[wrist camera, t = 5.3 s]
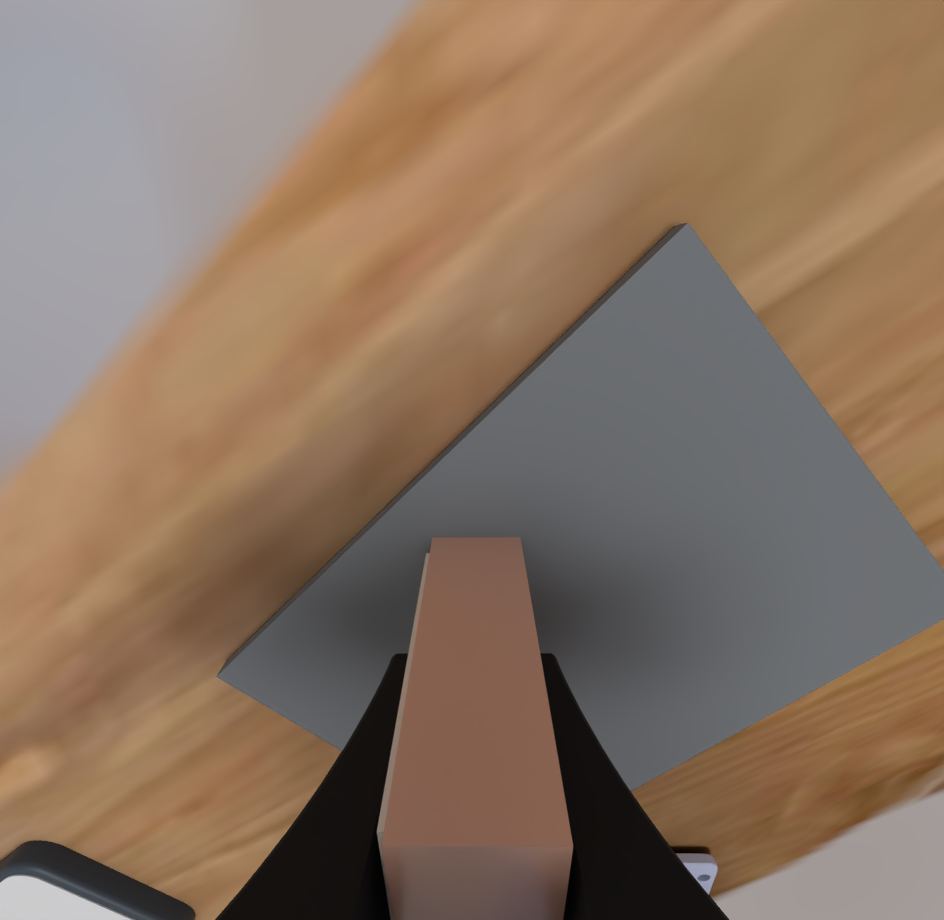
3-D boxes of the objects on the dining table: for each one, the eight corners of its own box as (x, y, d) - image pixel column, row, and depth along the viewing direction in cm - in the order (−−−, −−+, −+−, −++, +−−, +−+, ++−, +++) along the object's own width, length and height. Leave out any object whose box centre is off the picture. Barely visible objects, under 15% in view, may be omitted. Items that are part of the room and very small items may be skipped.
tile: (514, 694, 14) (546, 1041, 8) (435, 694, 14) (403, 1040, 8) (520, 537, 12) (573, 847, 5) (426, 537, 12) (369, 845, 6)
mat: (675, 225, 10) (687, 222, 9) (948, 591, 13) (969, 605, 13) (226, 661, 15) (216, 676, 14) (514, 836, 18) (516, 854, 18)
